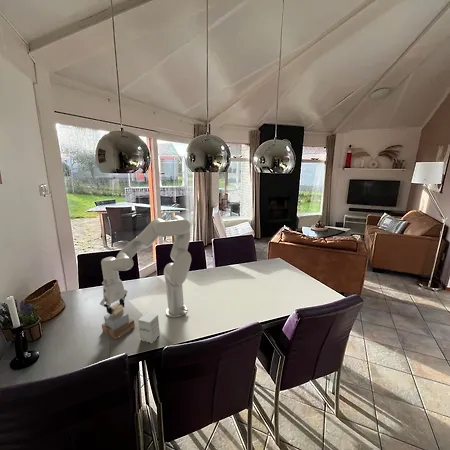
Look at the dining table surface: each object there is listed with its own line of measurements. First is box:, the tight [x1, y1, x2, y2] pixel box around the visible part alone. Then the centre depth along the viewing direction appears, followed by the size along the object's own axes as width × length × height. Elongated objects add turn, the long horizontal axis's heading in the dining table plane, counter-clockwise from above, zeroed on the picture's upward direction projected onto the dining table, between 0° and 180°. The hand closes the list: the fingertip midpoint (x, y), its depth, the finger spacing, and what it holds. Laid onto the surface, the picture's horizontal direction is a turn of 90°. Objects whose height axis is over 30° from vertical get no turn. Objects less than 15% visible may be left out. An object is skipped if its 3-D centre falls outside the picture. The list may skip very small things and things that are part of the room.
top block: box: [103, 311, 130, 330], centre depth 141 cm, size 9×9×5 cm
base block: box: [101, 317, 136, 340], centre depth 143 cm, size 12×12×5 cm
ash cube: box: [110, 302, 125, 318], centre depth 141 cm, size 5×5×5 cm
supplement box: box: [137, 312, 161, 344], centre depth 134 cm, size 7×7×13 cm
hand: (116, 309), depth 141 cm, fingers open, 7 cm apart
